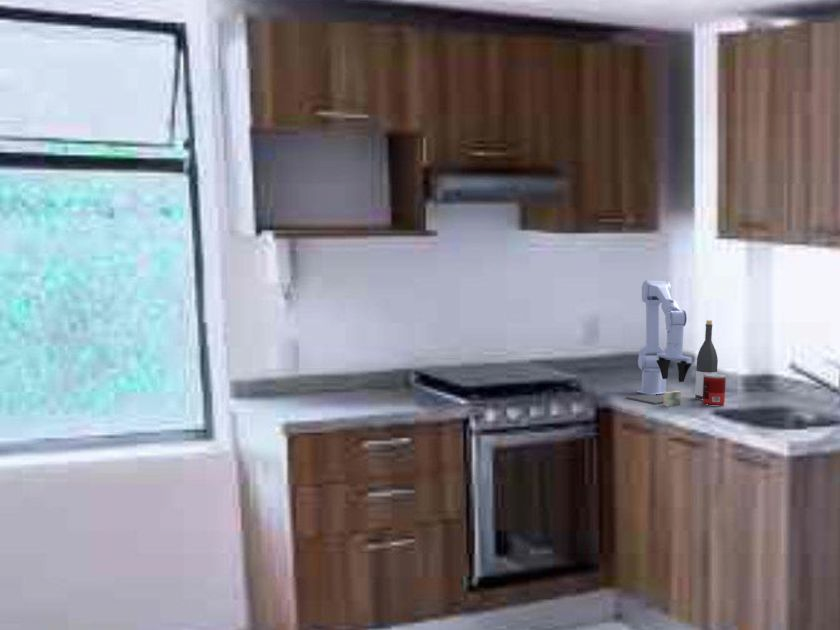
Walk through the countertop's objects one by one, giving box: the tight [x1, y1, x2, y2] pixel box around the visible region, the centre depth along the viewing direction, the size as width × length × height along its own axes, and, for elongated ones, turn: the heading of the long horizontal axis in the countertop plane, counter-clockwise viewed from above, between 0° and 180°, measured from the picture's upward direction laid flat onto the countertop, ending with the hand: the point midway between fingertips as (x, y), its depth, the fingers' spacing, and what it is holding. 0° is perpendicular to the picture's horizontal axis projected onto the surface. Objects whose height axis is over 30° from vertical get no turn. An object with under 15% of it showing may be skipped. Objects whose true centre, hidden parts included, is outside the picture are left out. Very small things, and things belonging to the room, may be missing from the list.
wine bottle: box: [694, 319, 719, 400], centre depth 386 cm, size 8×8×30 cm
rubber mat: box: [625, 394, 664, 405], centre depth 382 cm, size 13×14×1 cm
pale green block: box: [662, 390, 682, 407], centre depth 372 cm, size 7×2×5 cm, turn 127°
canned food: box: [702, 373, 727, 406], centre depth 375 cm, size 8×8×11 cm
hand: (672, 380), depth 371 cm, fingers open, 7 cm apart
